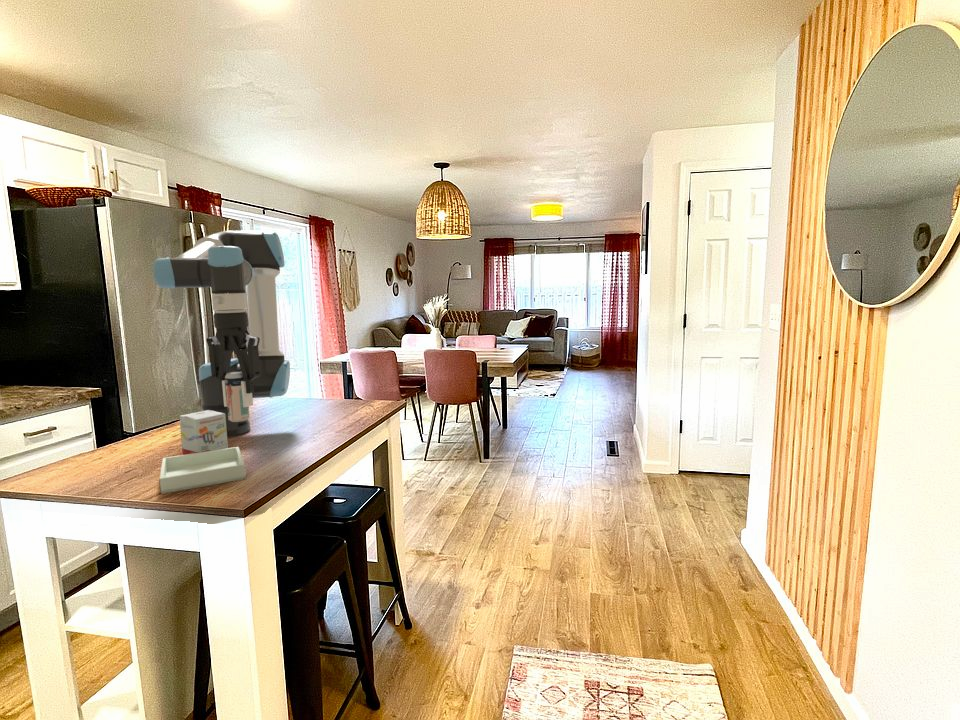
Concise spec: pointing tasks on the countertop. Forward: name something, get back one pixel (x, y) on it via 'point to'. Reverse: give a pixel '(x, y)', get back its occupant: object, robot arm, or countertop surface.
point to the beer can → (235, 397)
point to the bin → (201, 469)
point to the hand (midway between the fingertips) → (238, 405)
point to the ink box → (203, 432)
